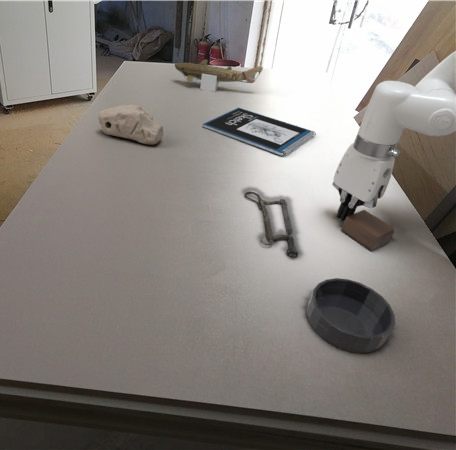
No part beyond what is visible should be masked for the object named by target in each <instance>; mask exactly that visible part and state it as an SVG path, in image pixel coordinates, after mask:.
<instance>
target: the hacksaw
mask: <svg viewBox="0 0 456 450" xmlns="http://www.w3.org/2000/svg"><path fill="white" fill-rule="evenodd" d="M248 194H253V195H255V196H256V197H257V199H258V201H257V200H255V199H253V198H251V197H249V196H247V195H248ZM244 197H245V198H246V199H248V200H250V201H252V202H254V203H256V204H257V205H258V210H261V212H262V215H263V221H264V228H265V234H266V239H268V240H269V241H270V243H265V242H263V241H262V240H263V238H264V237H265V235H263V236H262V237H260V242H261V243H262V244H263V245H265V246H272V245H273V244H274V241H277V240H279V239H286V240H287V243H288V248H287V249H286V251H285V252H286V253H287V255H288V257H291V258H295V257H298V255H299V251H298V250H297V247H296V244H295V239H294V232H293V227H292V222H291V219H290V214H289V210H288V202H287V200H286V199H283V198H280V200H272V201H267V200H264V199H262V197H261V196H260V195H259V194H258V193H256V192H255V191H247V192H245V193H244ZM276 204H277V205H278V206H279V205H281V208H282V209H281V211H282V214H283V219H284V224H285V228H286V232H287V234H283V233H280V234H276V235H274V234H273V229H272V226H271V221H270V217H269V216H270V215H269V213H268V209H267V207H266V205H276Z"/></svg>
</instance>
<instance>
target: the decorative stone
mask: <svg viewBox="0 0 456 450" xmlns="http://www.w3.org/2000/svg"><path fill="white" fill-rule="evenodd" d="M153 120H154V115H151V114H150V113H149V112H146V110H145V109H144V108H143V107H142V106H141V105H139V104H124V105H122V104H119V105H115V106H111V107H108V108H106V109H103V110H100V111H99V113H98V121H99V125H100V127H101V131H102V132H103V133H104V134H105V135H108V136H112V137H113V136H114V137H119V138H123V139H128V140H132V141H136V142H138V143H140V144H144V145H150V146H151V145H156V144H158V143H159V142H160V140H162V139H163V137H164V133H165V132H164V126H163V125H161V124H160V123H158V122H156V121H153Z"/></svg>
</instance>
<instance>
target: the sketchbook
mask: <svg viewBox="0 0 456 450" xmlns="http://www.w3.org/2000/svg"><path fill="white" fill-rule="evenodd" d="M202 128H204V129H206V130H209V131H212V132H215V133H218V134H220V135H223V136H226V137H228V138H231V139H235V140H237V141H240V142H243V143H245V144H247V145H249V146H250V145H251V146H253V147H256V148H259V149H262V150H264V151H267V152H270V153H272V154H275V155H278V156H280V157H284V158H285V157H287V156H288V155H290V154H292V152H294V151H296V150H297V149H298V148H300V147H301V146H303V145H304V144H305V143H308V141H310V140H312V139H313V138H314V137H316V135H317V132H316V131H314V130H312V129H311V130H310V129H307V128H305V127H301V126H298V125H295V124H292V123H289V122H286V121H283V120H279V119H276V118H272V117H269V116H266V115H263V114H260V113H257V112H253V111H251V110H247V109H244V108H241V107H237V108H235V109H232V110H230V111H228V112H225V113H223V114H221V115H219V116H217V117H215V118H212V119H210V120H208V121H206V122H204V123H202Z"/></svg>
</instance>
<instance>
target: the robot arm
mask: <svg viewBox="0 0 456 450" xmlns="http://www.w3.org/2000/svg"><path fill="white" fill-rule="evenodd" d="M405 129H408V130H411V131H412V132H417V133H419V134H423V135H425V136H430V137H445V136H448V135H451V134H453V133H455V132H456V50H454V51H453V52H452V53H450V54H449V55H447V56H446V57H445V58H444V59H443V60H441V61H440V62H439V63H438V64H437V65H436V66H435V67H434V68H432V69H431V70H430V71H429V72H428V73H427V74H425V76H424V77H423V78H422V79H420V81H419V82H418V83H417V84H416V85H415V86H414V85H412V84H410V83H408V82H403V81H399V80H383V81H381V82H379V83H378V84H377V85H376V86H375V88H374V90H373V92H372V94H371V97H370V101H369V102H368V105H367V108H366V110H365V113H364V116H363V118H362V122H361V124H360V126H359V129H358V131H357V134H356V135H355V136H356V137H355V139H354V141H353V142H352V143H350V145H349V146H348V147H347V149H346V150H345V152H344V154H343V156H342V157H341V160H340V161H339V163H338V165H337V168H336V170H335V172H334V174H333V182H332V183H331V184H332V187H334V189H335V190H336V191H338V195H339V202H340V204H339V207H338V210H337V215H336V218H337V219H338V220H340V221H341V222H344V221H345V219H346V217H347V216H349V215H352V214H354V213H356V211H357V208H358V207H361V206H362V207H364V208H367V209H375V208H376V207H377V204H378V199H382V198H383V197H384V195H385V194H386V191H387V188H388V185H389V183H390V180H391V177H392V174H393V171H394V167H395V161H396V159H395V158H398V157H399V156H400V155H401V151H400V150H398V148H397V147H398V145H399V144H398V143H399V140H400V139H401V137H402V134H403V133H404V130H405Z"/></svg>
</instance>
